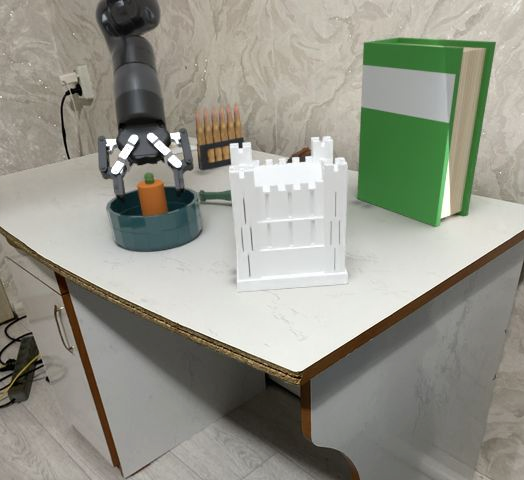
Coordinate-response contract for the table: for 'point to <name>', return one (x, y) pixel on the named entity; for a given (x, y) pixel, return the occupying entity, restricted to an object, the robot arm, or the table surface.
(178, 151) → the character toy
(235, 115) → the ammunition clip
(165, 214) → the bowl
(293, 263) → the castle model
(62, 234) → the table surface
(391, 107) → the hardback book
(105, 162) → the robot arm
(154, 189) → the carrot toy
